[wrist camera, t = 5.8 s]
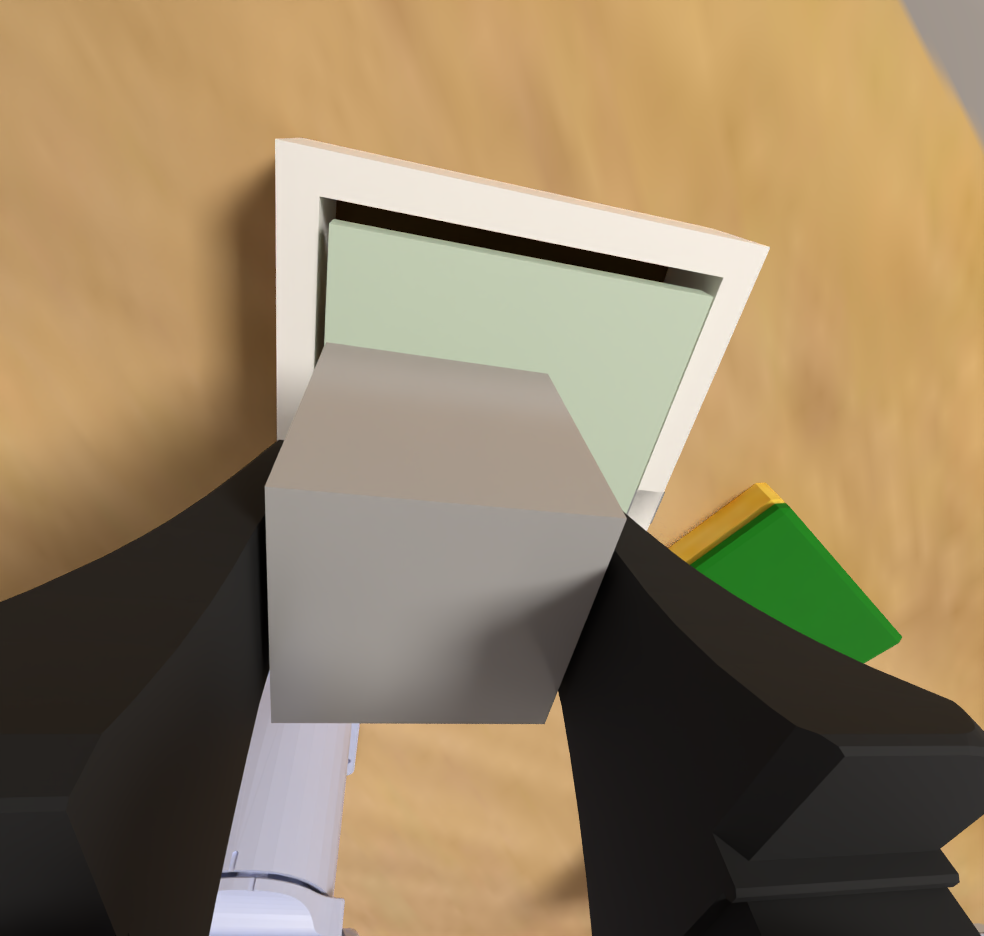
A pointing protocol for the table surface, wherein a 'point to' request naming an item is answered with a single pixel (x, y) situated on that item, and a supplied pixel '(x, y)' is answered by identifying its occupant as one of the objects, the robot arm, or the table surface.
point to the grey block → (430, 543)
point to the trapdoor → (524, 328)
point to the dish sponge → (786, 573)
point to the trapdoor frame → (505, 209)
